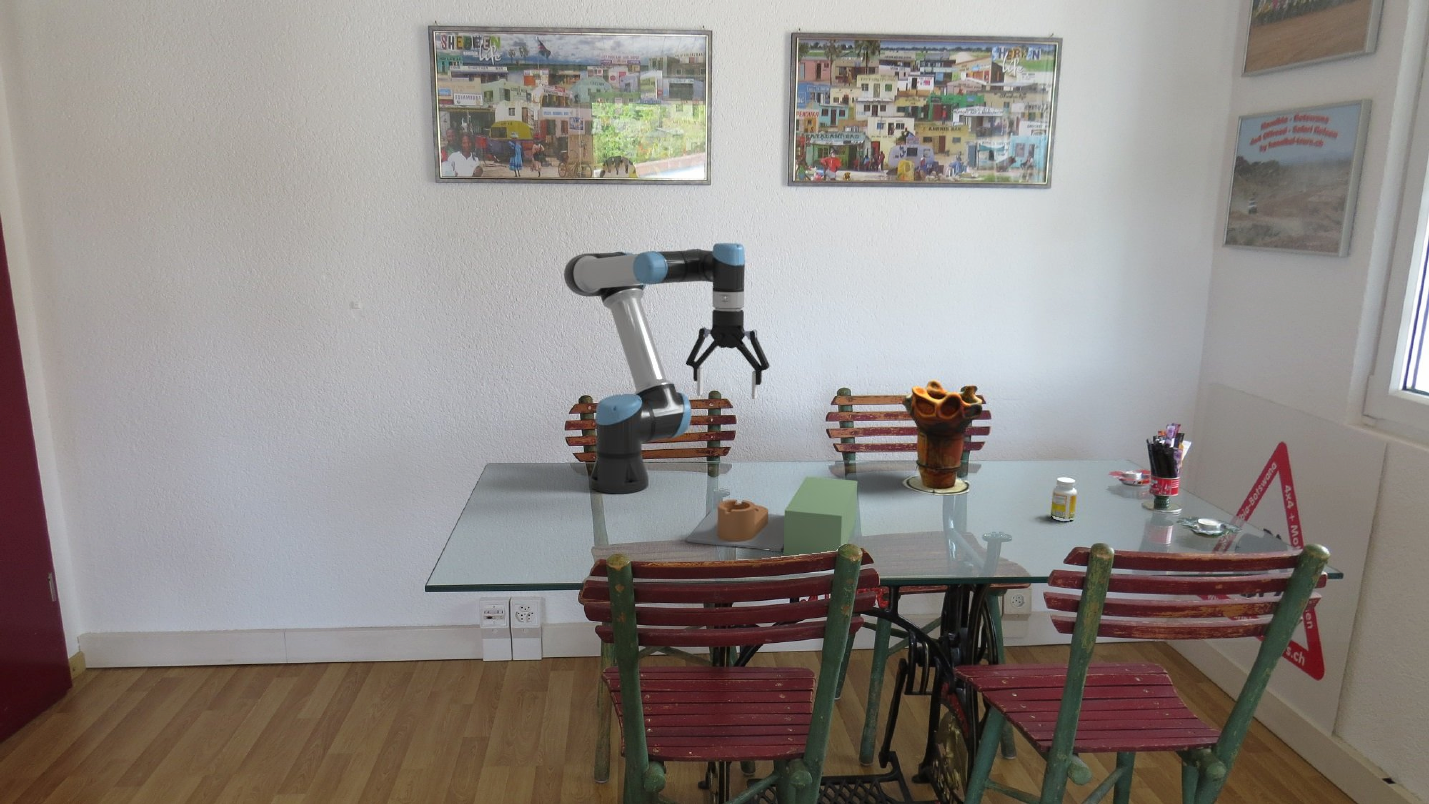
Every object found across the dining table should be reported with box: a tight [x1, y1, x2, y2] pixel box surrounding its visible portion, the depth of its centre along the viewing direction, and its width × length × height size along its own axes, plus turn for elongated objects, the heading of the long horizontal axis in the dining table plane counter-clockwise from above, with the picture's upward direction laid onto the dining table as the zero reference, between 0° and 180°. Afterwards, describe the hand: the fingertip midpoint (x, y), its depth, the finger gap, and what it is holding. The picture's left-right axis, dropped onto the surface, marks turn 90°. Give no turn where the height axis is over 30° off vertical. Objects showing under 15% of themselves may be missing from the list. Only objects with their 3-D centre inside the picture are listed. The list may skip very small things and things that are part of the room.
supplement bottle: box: [1050, 477, 1078, 519], centre depth 228 cm, size 5×5×10 cm
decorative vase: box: [901, 379, 983, 496], centre depth 252 cm, size 21×23×28 cm
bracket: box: [717, 499, 769, 542], centre depth 217 cm, size 18×8×7 cm, turn 159°
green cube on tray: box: [686, 476, 858, 557], centre depth 216 cm, size 34×26×10 cm
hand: (727, 396), depth 233 cm, fingers open, 13 cm apart
